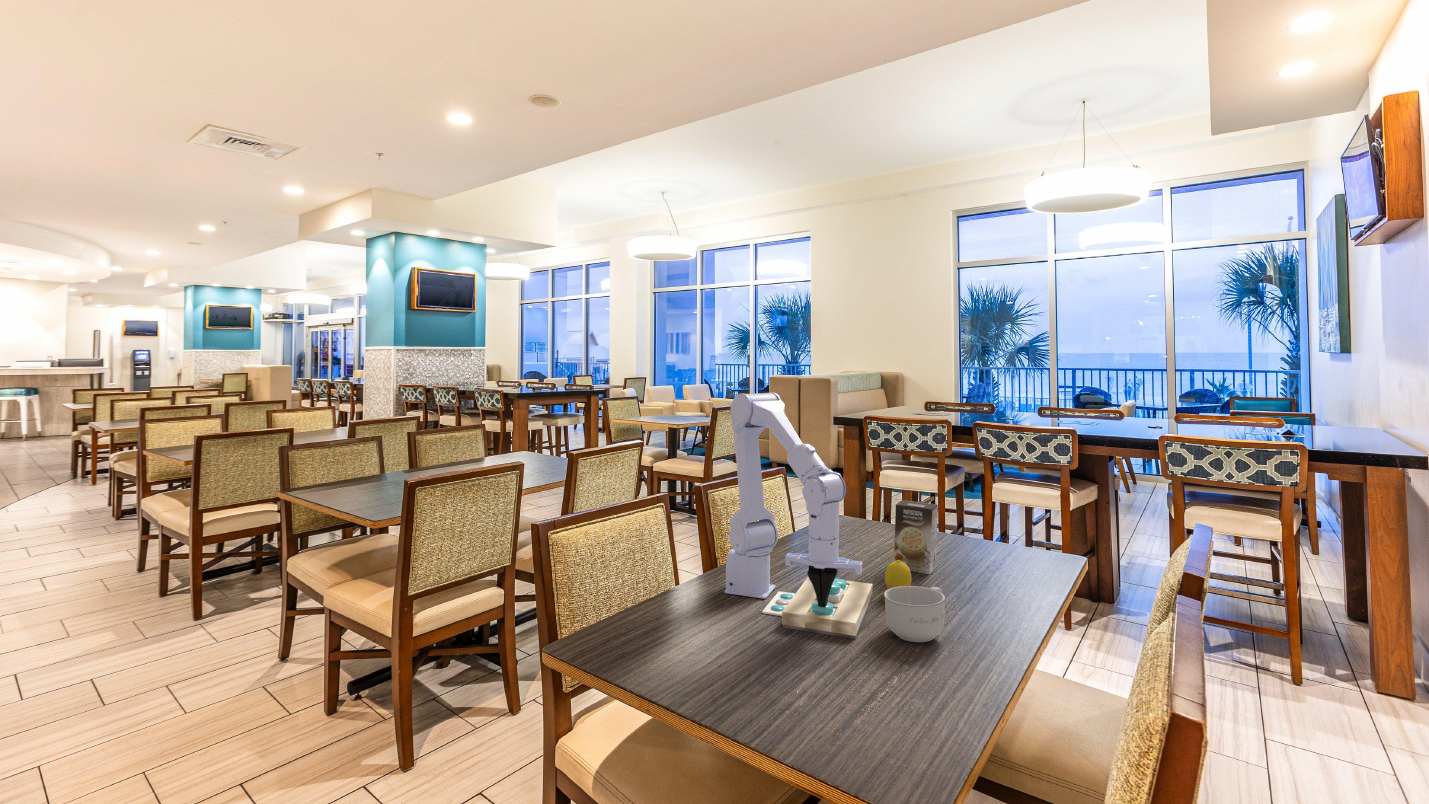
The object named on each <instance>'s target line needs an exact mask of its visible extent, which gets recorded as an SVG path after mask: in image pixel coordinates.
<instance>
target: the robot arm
mask: <svg viewBox="0 0 1429 804" xmlns="http://www.w3.org/2000/svg"><path fill="white" fill-rule="evenodd" d="M785 405H786V404H785V403H784V401H782V399H781V397H780V395H779V394H777V393H776V392H771V391H770V392H766V393H765V392H764V393H762V392H760V393H743V392H742V393H738V394H737V395H736V396H735V397H734V399H733V401H732V402H731V404H730V405H729V407H730V414H731V415H730V416H731V425H732V427H731V428H732V431H733V436H734V437H733V438H734V449H735V461H736V462H735V463H736V470H737V471H736V473H737V475H736V476H737V482H738V483H737V485H738V486H737V487H738V497H739V510H737V511H736V512H735V514H734V515H733V516H732V517H731V518H730V531H729V543H730V545H731V547H732V548H731V549H730V550H729V551H728V554H727V556H726V560H725V590H724V593H725V594H729V595H734V596H735V595H736V596H742V597H750V598H757V599H765V600H766V599H767V598H768V597H769V595H770V594H771V593H772V592H773V591H774V590H775V588H776V584H773V583H771V552H773V551H774V547H775V546H776V545H777V543H778V540H779V530H778V527H777V524H776V522H775V515H774V513H772V512H771V511H770V510H769V509H768V508H767V507H765V497H764V488H763V487H764V486H763V485H764V484H763V476H762V465H761V464H762V462H761V452H760V451H761V450H760V445H759V444H760V443H759V441H760V440H759V436H760V435H761V434H762V432H763V431H764V430H765V429H768V430H769V431H770V432H771V433H772V435H773V436H774V437H775V438H776V440H778V442H779V443H780V444H781V446H782V447H783V448H784V450H786V452H787V456H786V461H787V463H788V465H789V466H790V467H791V469H792V471H793V472H794V474H795V475H796V476H797V478H798V479H799V481H800V483H801V484H802V485H803V487H802V488H801V491H802V492H801V493H802V496H803V499H804V501H805V503H806V511H807V513H808V553H791V552H789V553H787V554H786V555H785V566H787V567H788V566H789V567H791V566H795V567H804V568H808V571H807V577H809V579H810V581H811V583H812V585H813V587H814V590H815V593H816V597H817V601H818V606H819V607H826V606H827V603H828V597H829V593H830V590H831V587H832V584H833V581H834V579H835V578H836V577H837V575H838V573H839V572H845V573H852V574H853V573H854V575H858V576H860V575H862V573H863V561H860V560H859V561H858V560H853V559H849V558H845V557H840V556H839V553H840V552H839V542H840V539H839V537H840V502H842V501H843V500H844V498H845V496H846V495H847V494H846V493H847V485H846V482H845V480H844V478H843V477H842V475H841V473H839V472H837V471H833V470H832V469H831V468H828V467H827V466H826V464H825V462H824V461H823V460H822V459H821V457H820V456H819V455H818V453H817V452H816V450H817V449H815V447H814V446H813V445H811V444H809V443H803V441H802V440H801V439H800V437H799V435H798V433H797V432H796V431H795V428H794V427H793V425H792V423H791V421H789V419H788V417H787V416H786V413H785V411H786V406H785Z"/></svg>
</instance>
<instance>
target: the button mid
mask: <svg viewBox="0 0 1429 804" xmlns="http://www.w3.org/2000/svg"><path fill="white" fill-rule="evenodd" d="M842 598H843V589H841V588H840V585H839V584H838V583H835V582H833V584H832V587H831V590H830V593H829V597H828V602H835V603H840V602H841V600H842Z"/></svg>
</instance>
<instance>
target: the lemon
mask: <svg viewBox="0 0 1429 804" xmlns="http://www.w3.org/2000/svg"><path fill="white" fill-rule="evenodd" d="M911 572H912V571H910V569H909V567H908V566H907V565H906V564H905V563H903V562H901V561H900V560H897V561H894V560H893V561H892V562H891V563H889V564H888V565H887V566H886V569H885V574H884V582H885V583H884V584H885V585H886V587H887V590H888V589H890V588H894V587H899V586H912V573H911Z"/></svg>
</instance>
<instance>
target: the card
mask: <svg viewBox="0 0 1429 804" xmlns="http://www.w3.org/2000/svg"><path fill="white" fill-rule="evenodd" d="M795 594H796V592H795V593H794V592H786V591H777V593H776V594H775V595H774V596H773V598H772V599H771V600H770V601H769V602H768V604H767V605H766V606H765V607H764V609H763V610H762V614H766V615H772V616H778V617H782V611H783V610H784V609H785V607H786V606H787V604H788V603H789V602H790V600H791V599H792V598H793V596H794V595H795Z"/></svg>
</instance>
